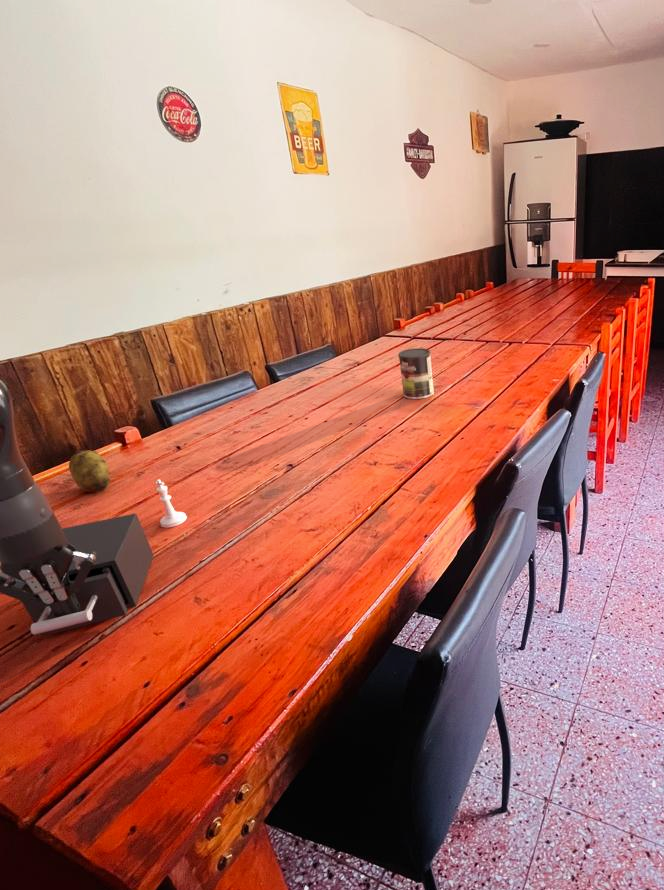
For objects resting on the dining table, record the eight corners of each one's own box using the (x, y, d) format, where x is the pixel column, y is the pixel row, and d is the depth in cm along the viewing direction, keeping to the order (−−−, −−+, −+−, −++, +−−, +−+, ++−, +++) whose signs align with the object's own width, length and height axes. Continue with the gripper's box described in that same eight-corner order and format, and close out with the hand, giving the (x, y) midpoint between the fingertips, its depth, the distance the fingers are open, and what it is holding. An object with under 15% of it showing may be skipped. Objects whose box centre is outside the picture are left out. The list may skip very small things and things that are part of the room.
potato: (70, 502, 117) (56, 472, 113) (79, 479, 127) (66, 450, 124) (113, 492, 120) (100, 462, 117) (118, 470, 131) (106, 442, 127)
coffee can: (420, 401, 163) (415, 358, 157) (397, 396, 169) (391, 354, 163) (440, 391, 171) (436, 350, 165) (417, 386, 176) (412, 346, 170)
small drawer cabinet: (136, 605, 85) (115, 560, 81) (47, 628, 81) (19, 581, 77) (153, 555, 97) (136, 513, 93) (77, 572, 94) (55, 529, 89)
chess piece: (172, 513, 110) (157, 473, 106) (192, 515, 109) (177, 474, 105) (155, 526, 106) (138, 485, 102) (175, 528, 105) (159, 486, 101)
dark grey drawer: (117, 638, 77) (97, 599, 74) (28, 662, 74) (3, 622, 71) (144, 564, 93) (128, 529, 90) (71, 581, 90) (52, 546, 87)
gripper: (83, 495, 74) (126, 587, 81) (-29, 517, 70) (28, 612, 78) (65, 522, 67) (114, 619, 75) (-59, 548, 64) (6, 648, 71)
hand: (70, 615), depth 76 cm, fingers closed
